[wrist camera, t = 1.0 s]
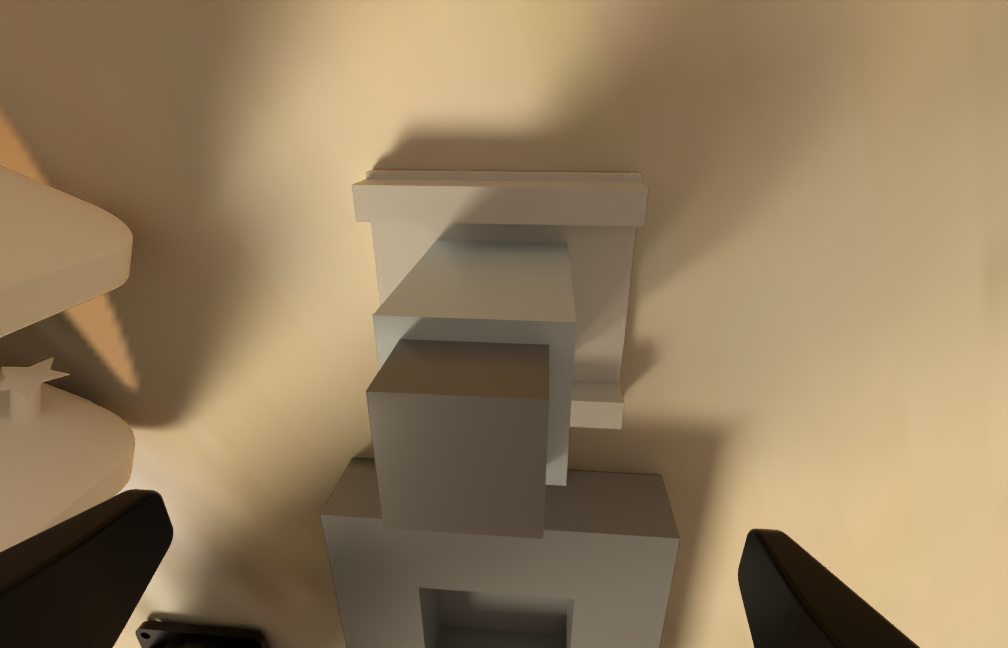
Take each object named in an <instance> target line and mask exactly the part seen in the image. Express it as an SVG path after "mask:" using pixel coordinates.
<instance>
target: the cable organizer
mask: <svg viewBox="0 0 1008 648" xmlns="http://www.w3.org/2000/svg"><path fill="white" fill-rule="evenodd" d="M132 245H133V235H132V232H131V230H130V229H129V228H128V226H127V225H126V224H125V223H124V222H122V221H121V220H120V219H119V218H117V217H116V216H114V215H112V214H111V213H109V212H107V211H106V210H104V209H102V208H100V207H97V206H95V205H93V204H91V203H88V202H86V201H83V200H81V199H79V198H76V197H74V196H72V195H69V194H67V193H64V192H62V191H60V190H57V189H55V188H52V187H50V186H48V185H45V184H43V183H40V182H38V181H36V180H33V179H31V178H29V177H26V176H24V175H21V174H19V173H17V172H14V171H12V170H9V169H7V168H4V167H2V166H0V338H1V337H3V336H5V335H8V334H10V333H12V332H15V331H17V330H19V329H22V328H24V327H27V326H29V325H31V324H34V323H36V322H38V321H41V320H43V319H45V318H48V317H50V316H53V315H55V314H57V313H60V312H62V311H64V310H67V309H69V308H71V307H74V306H76V305H79V304H81V303H83V302H86V301H88V300H90V299H93V298H95V297H97V296H100V295H102V294H105V293H107V292H109V291H112V290H114V289H116V288H118V287H120V286H122V285H123V284H124V283H125V282H126V281H127V280H128V278H129V274H130V264H131V255H132ZM53 359H54V357H52V358H49V359H47V360H45V361H42V362H40V363H37V364H35V365H33V366H30V367H3V366H1V368H2V369H1V368H0V552H2V551H4V550H6V549H8V548H10V547H12V546H14V545H16V544H18V543H20V542H22V541H24V540H26V539H28V538H30V537H32V536H34V535H37V534H39V533H41V532H43V531H45V530H47V529H49V528H51V527H53V526H55V525H57V524H59V523H61V522H63V521H65V520H67V519H69V518H71V517H73V516H75V515H77V514H80V513H82V512H84V511H86V510H88V509H90V508H92V507H94V506H96V505H98V504H100V503H102V502H104V501H106V500H108V499H110V498H112V497H114V496H115V495H116V494H117V493H118V492H119V491H121V490H122V489H123V488H124V486H125V485H126V484H127V483H128V481H129V479H130V476H131V472H132V465H133V457H134V450H135V437H134V434H133V431H132V430H131V428H130V427H129V425H128V424H127V423H126V422H125V421H124V420H123V419H122V418H120V417H119V416H117V415H116V414H115V413H113V412H111V411H109V410H107V409H105V408H103V407H100V406H98V405H96V404H95V403H93V402H92V401H90V400H88V399H85V398H82V397H80V396H77V395H75V394H72V393H69V392H67V391H64V390H62V389H59V388H56V387H54V386H51V385H49V384H46V383H43V382H46V381H49V380H53V379H56V378H60V377H64V376H67V375H71V374H68V373H63V372H59V371H54V370H50V369H51V366H52V362H53Z"/></svg>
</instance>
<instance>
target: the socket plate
mask: <svg viewBox="0 0 1008 648" xmlns="http://www.w3.org/2000/svg"><path fill="white" fill-rule="evenodd" d="M320 517H321V522H322V527H323V532H324V537H325V542H326V547H327V552H328V557H329V562H330V567H331V572H332V577H333V582H334V587H335V592H336V597H337V603H338V608H339V613H340V618H341V623H342V628H343V633H344V638H345V643H346V648H659V645H660V640H661V634H662V629H663V624H664V619H665V614H666V609H667V603H668V598H669V593H670V588H671V583H672V577H673V572H674V567H675V562H676V557H677V551H678V546H679V541H680V537H679V534H678V530H677V527H676V524H675V520H674V517H673V514H672V510H671V507H670V504H669V500H668V497H667V494H666V490H665V487H664V484H663V480H662V477H661V475H645V474H627V473H609V472H592V471H574V470H567V479H566V486H561V485H546V486H545V509H544V533H543V539H537V538H522V537H507V536H492V535H477V534H463V533H448V532H433V531H418V530H403V529H389V528H384V525H383V518H382V510H381V503H380V495H379V487H378V480H377V472H376V464H375V459H362V458H352V459H351V461H350V463H349V464H348V466H347V468H346V470H345V472H344V473H343V475H342V477H341V479H340V481H339V482H338V484H337V486H336V488H335V489H334V491H333V493H332V495H331V497H330V498H329V500H328V502H327V504H326V505H325V507H324V509H323V511H322V513H321V514H320Z"/></svg>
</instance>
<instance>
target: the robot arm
mask: <svg viewBox="0 0 1008 648" xmlns="http://www.w3.org/2000/svg"><path fill="white" fill-rule="evenodd" d="M172 539H173V527H172V524H171V521H170V518H169V515H168V512H167V510H166V507H165V504H164V501H163V498H162V496H161V495H160V494H159V493H158V492H157V491H154V490H139V489H133V490H127V491H125V492H123V493H120V494H118V495H116V496H114V497H112V498H110V499H108V500H106V501H104V502H102V503H100V504H98V505H96V506H94V507H92V508H90V509H88V510H86V511H84V512H82V513H80V514H77V515H75V516H73V517H71V518H69V519H67V520H65V521H63V522H61V523H59V524H57V525H55V526H53V527H51V528H49V529H47V530H45V531H43V532H41V533H39V534H37V535H34V536H32V537H30V538H28V539H26V540H24V541H22V542H20V543H18V544H16V545H14V546H12V547H10V548H8V549H6V550H4V551H2V552H0V648H113V646H114V644H115V643H116V641H117V639H118V638H119V636H120V634H121V632H122V631H123V629H124V627H125V625H126V624H127V622H128V620H129V618H130V617H131V615H132V613H133V611H134V609H135V608H136V606H137V604H138V602H139V600H140V599H141V597H142V595H143V593H144V591H145V590H146V588H147V586H148V584H149V583H150V581H151V579H152V577H153V575H154V574H155V572H156V570H157V568H158V566H159V565H160V563H161V561H162V559H163V557H164V556H165V554H166V552H167V550H168V548H169V547H170V544H171V542H172ZM738 581H739V587H740V591H741V595H742V599H743V603H744V607H745V611H746V616H747V620H748V624H749V628H750V632H751V636H752V640H753V644H754V648H920V647H919V646H917V645H916V644H915V643H914V642H913V641H911V640H910V639H909V638H908V637H907V636H906V635H904V634H903V633H902V632H901V631H900V630H899V629H897V628H896V627H895V626H894V625H893V624H891V623H890V622H889V621H888V620H887V619H886V618H884V617H883V616H882V615H881V614H880V613H878V612H877V611H876V610H875V609H874V608H873V607H871V606H870V605H869V604H868V603H867V602H866V601H864V600H863V599H862V598H861V597H860V596H858V595H857V594H856V593H855V592H854V591H853V590H851V589H850V588H849V587H848V586H847V585H845V584H844V583H843V582H842V581H841V580H840V579H838V578H837V577H836V576H835V575H834V574H833V573H831V572H830V571H829V570H828V569H827V568H825V567H824V566H823V565H822V564H821V563H820V562H818V561H817V560H816V559H815V558H814V557H812V556H811V555H810V554H809V553H808V552H807V551H805V550H804V549H803V548H802V547H801V546H800V545H798V544H797V543H796V542H795V541H794V540H792V539H791V538H790V537H789V536H788V535H786V534H785V533H783V532H782V531H779V530H770V529H752V530H750V532H749V533H748V535H747V538H746V542H745V546H744V550H743V553H742V557H741V561H740V565H739V569H738ZM136 636H137V638H138V640H139V643H140V645H141V647H142V648H269V647H268V644H267V641H266V638H265V636H264V635H263V634H262V633H261V632H259V631H255V630H245V629H233V628H221V627H210V626H198V625H186V624H175V623H163V622H151V621H145V622H143V623H142V624H141V625H140V627H139V628H138V629H137V631H136Z"/></svg>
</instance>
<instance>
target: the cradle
mask: <svg viewBox="0 0 1008 648" xmlns="http://www.w3.org/2000/svg"><path fill="white" fill-rule="evenodd" d="M641 178H642V175H641V174H640V173H624V172H522V171H421V170H370V171H367V172H366V179H365V180H363V181H360V182H358V183H355V184H353V185H352V192H353V200H354V209H355V217H356V221H364V222H371V226H372V235H373V244H374V253H375V262H376V272H377V281H378V290H379V299H380V306H381V305H382V304H383V303H384V301H385V300H386V299H387V298H388V297H389V296H390V294H391V293H392V292H393V291H394V290H395V288H396V287H397V286H398V285H399V284H400V282H401V281H402V280H403V279H404V278H405V277H406V275H407V274H408V273H409V272H410V271H411V269H412V268H413V267H414V266H415V265H416V264H417V262H418V261H419V260H420V259H421V258H422V256H423V255H424V254H425V253H426V252H427V251H428V249H429V248H430V247H431V246H432V245H433V243H434V242H435V241H436V240H454V241H502V242H550V243H567V247H568V256H569V264H570V272H571V280H572V289H573V297H574V305H575V314H576V338H575V354H574V370H573V385H572V401H571V417H570V427H585V428H605V429H621V427H622V418H623V409H624V400H623V396H622V392H621V388H620V384H619V383H620V373H621V364H622V355H623V345H624V336H625V327H626V318H627V308H628V299H629V290H630V280H631V271H632V262H633V253H634V243H635V234H636V226H639V227H644V225H645V217H646V208H647V199H648V190H649V188H647V187H646V186H645V185H644V184H643V183H641Z"/></svg>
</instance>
